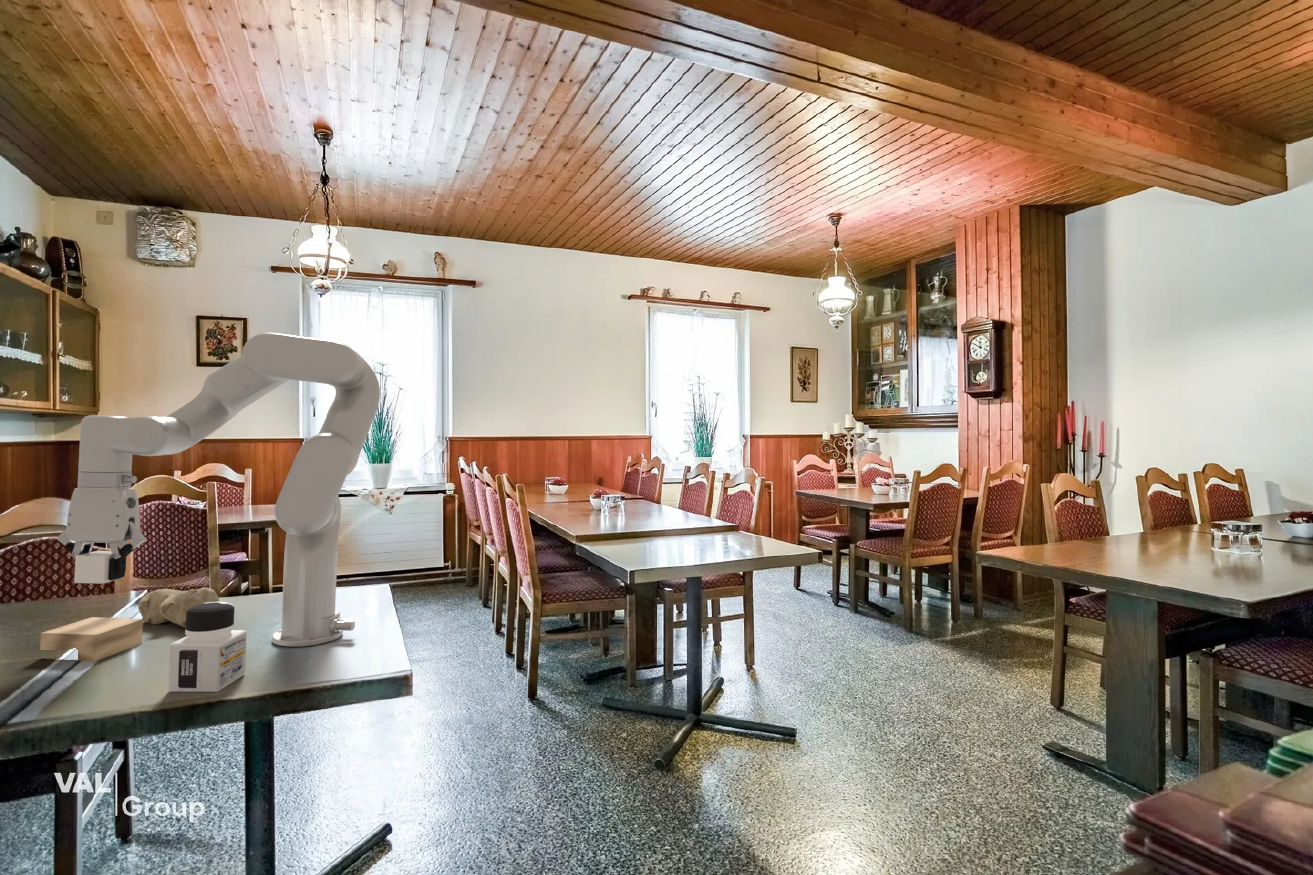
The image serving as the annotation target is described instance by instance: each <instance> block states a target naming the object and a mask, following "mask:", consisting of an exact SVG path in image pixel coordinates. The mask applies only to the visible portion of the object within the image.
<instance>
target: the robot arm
mask: <svg viewBox="0 0 1313 875" xmlns="http://www.w3.org/2000/svg"><path fill="white" fill-rule="evenodd" d="M289 380H291V381H292V380H293V381H301V382H309V383H317V384H324V385H329V386H332V387H334V390H335V397H334V399H333V401H332V403H331V405H330V407H329V409H328V411H327V414H326V417H325V419H324V421H323V424H322V425H321V428H320V430H319V432H318V434H315V435H314V436H311V437H309V438H308V439H307V440H306V441H305V442H304V443H302V444H301V447H300V448H299V450H298V451H297V453H296V455H295V457H294V459H293V462H292V465H291V467H290V469H289V472H288V474H287V476H286V479H285V481H284V483H283V485H282V488H281V490H280V492H279V494H278V497H277V500H276V503H275V505H274V517H275V520H276V522H277V524H278V527H280V528H281V529H282V531H284V532H286V533H285V541H284V558H283V559H284V560H283V576H282V577H283V580H282V605H281V606H282V607H281V629H279V630H277V631H275V632H274V633H273V634H272V636H271V642H272V643H273V644H275V645H276V646H281V647H290V648H291V647H292V648H295V647H296V648H297V647H298V648H299V647H310V646H317V645H321V643H322V644H326V643H329V641H330V642H332V641H335V640H338V639H339V638H340V637H341V636H342V635H343V634H342V633H343V632H344V631H348V632H350V631H351V632H352V631H354V629H355V627H356V622H355V620H354V618H342V617H341V612H340V611H336V599H337V597H336V596H337V594H336V593H337V591H336V590H337V567H338V564H337V563H338V552H339V551H338V549H339V547H338V546H339V533H340V526H341V525H340V524H341V514H342V504H341V500H340V497H339V495H340V492H341V490H342V487H343V485H344V482H345V481H346V478H347V476H348V475H350V474H351V473H352V472H353V471H354V470H355V468H356V467H357V463H358V461H359V458H360V454H361V452H362V450H363V447H364V445H365V442H366V440H367V437H368V435H369V432H370V430H371V426H372V423H373V421H374V418H375V416H376V414H377V410H378V408H379V403H380V398H381V388H380V383H379V380H378V377H377V375H376V373H375V372H374V370H373V368H372V367H371V366H370V365H369V364H368V362H367V361H366V360H365V358H363V357H362V356H361V355H360V354H359V353H358V352H356V351H355V349H353V348H351V347H350V346H348V345H347V344H345V343H342V342H339V341H335V340H327V339H320V338H314V337H307V336H306V337H304V336H297V335H291V334H283V333H277V332H262V333H258V334H256V335H253V336H252V337H250V338H248V340H247V341H246V342H245V344H244V345H243V348H242V354H241V355H240V356H237V357H236V358H235V359H233V360H232V361H230V362H228V363H226V364H225V365H223V366H221V367H220V368H219V369H216V370H215V371H213V372H212V373H210V374H209V375H208V376H206V378H205V379H204V381H203V386H202V388H201V390H200V392H199V393H198V395H196V396H195V397H194V398H193V399H192V400H190V401H189V402H188V403H186V404H184V405H182V406H181V407H180V408H178V409H177V410H175V411H173V412H171V413H170V414H168V415H166V416H160V415H159V416H158V415H157V416H151V415H146V416H144V415H143V416H131V417H130V416H129V417H127V416H121V415H107V414H106V415H104V414H99V415H98V414H90V415H86V416H84V417H83V418H82V419H81V421H80V431H79V449H78V452H79V453H78V454H79V455H78V472H77V474H78V475H77V488H73V489H74V490H73V492H72V494H71V498H70V503H69V507H68V513H67V520H66V528H64V530H63V531H61V533H60V534H59V535H58V536H57V541H58V542H59V543H61V544H62V545H64V546H65V547H66V549H67V550H68V551H69V552H70V553H71V557H72V558H73V559H75V558H76V555H80V554H85V553H90V552H92V551H93V550H92V549H93V546H94V544H95V543H97V544H99V543H101V544H102V543H103V544H105V543H107V544H108V545H109V548H110V551H111V552H112V556H113V558H112V559H110V560H109V575H108V579H109V580H114V581H117V580H116V579H118V580H121V579H124V578H125V575H126V570H127V557H130V555H131V553H133V551H134V550H136V549H137V547H139V546H141V545H142V544H143V543H145V542H146V541H147V539H146V538H147V537H145V535H144V533H142V532H141V515H140V514H141V513H140V512H141V511H140V504H139V503H140V502H139V497H138V494H137V489H136V488H133V487H132V484H136V483H137V480H138V477H137V476H135V475H133V473H132V471H133V470H132V467H133V455H137V456H142V457H143V456H145V457H155V456H169V455H170V456H171V455H176V454H178V453H179V454H180V453H181V452H184V451H186V450H187V449H190V448H191V447H193V446H195V445H196V444H198V443H199V442H201V441H202V440H204V439H206V438H207V437H209V436H210V435H211V434H214V433H215V432H216V431H217V430H219V429H220V428H222V427H223V426H224V425H226V424H227V423H228V422H229V421H231V420H232V419H233V418H235V417H236V416H237V414H238V413H239V412H241V411H243V410H244V409H245V408H247V407H249V406H250V405H251V404H253V403H255V402H256V401H257V400H259V399H261V398H262V397H264V396H267V394H269V393H271V392H273V391H275V389H277V388H279V387H280V386H282V385H283V384H285V383H286V382H289ZM128 541H129V542H128ZM123 577H124V578H123ZM120 578H121V579H120ZM325 642H326V643H325Z"/></svg>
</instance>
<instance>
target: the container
mask: <svg viewBox="0 0 1313 875" xmlns="http://www.w3.org/2000/svg"><path fill="white" fill-rule="evenodd" d="M234 628H235V605H233V604H232V603H231V602H230V603H229V602H226V601H219V602H208V603H202V604H198V605H195V606H193V607H191V608H189V609H188V610H187V611H186V628H184V629H185V630H184V632H185V635H186V636H184V637H182V638H180V639H178V640H176V641H174V642H172V643H171V644H170V645H169V656H168V657H169V660H168V663H169V664H168V681H167V682H168V686H167V687H168V689H167V690H168V692H170V693H171V692H172V693H174V692H175V693H176V692H177V693H181V692H183V693H218V692H219V691H221V690H223V689H225V688H226V687H227V686H229V685H230V684H232V683H233V682H235V681H236V680H237V681H238V679H240V678H241V677H243V676H245V674H246V659H247V658H246V657H247V656H246V653H247V652H246V650H247V631H246V630H245V629H234Z"/></svg>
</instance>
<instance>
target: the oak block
mask: <svg viewBox="0 0 1313 875" xmlns="http://www.w3.org/2000/svg"><path fill="white" fill-rule="evenodd" d="M143 625H144V623H143V619H142V618H130V617H129V618H125V617H123V618H122V617H96V616H94V617H93V616H92V617H88V618H84V619H81V620H79V621H78V620H77V621H75V622H72V623H69V624H66V625H61V626H59V627H54V628H52V629H48V630H46V631H43V632H40V643H39V644H40V646H39V651H40V650H67V649H73V648H76V649H77V650H78V660H79V661H78V662H98V661H100V660H103V659H105V658H108V657H111V656H113V655H115V654H118V653H121V652H123V651H126V650H129V649H131V648H134V647H136V646H139V645H142V644H143V630H144V629H143V628H144V627H143Z"/></svg>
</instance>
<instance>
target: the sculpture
mask: <svg viewBox="0 0 1313 875" xmlns="http://www.w3.org/2000/svg"><path fill="white" fill-rule="evenodd" d="M138 601H139V602H138V604H137V608H138V611H139V613H140V615H141V617H142V618H141V619H143V622H144V623H150V624H152V625H160V624H163V623H167V622H171V623H173V624H175V625H177V626H180V627H182V628H184V629H185V628H186V611H187V610H188V609H189V608H191V607H193V606H195V605H198V604H202V603H208V602H220V597H219V596H218V593H217V592H216V591H215V589H213V588H211V587H201V588H197V589H193V588H191V589H189V590H178V589H171V588H162V589H161V588H160V589H159V588H158V589H155V590H152V591H150V592H148V593H147V594H145V595H144V596H143V597H142V598H140V600H138Z"/></svg>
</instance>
